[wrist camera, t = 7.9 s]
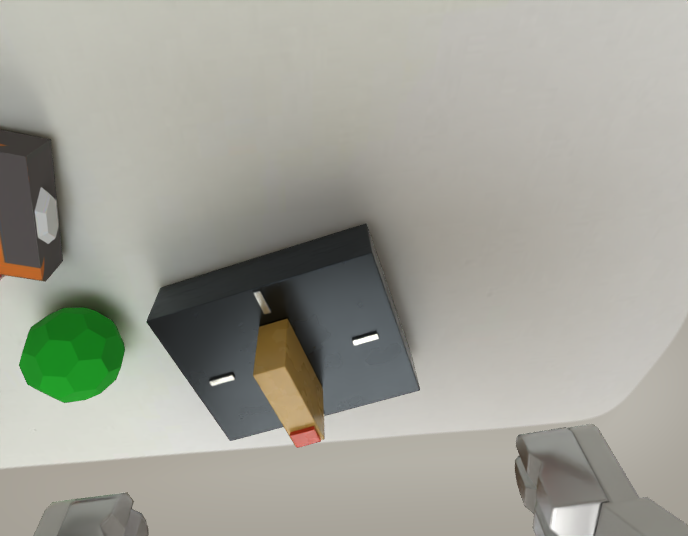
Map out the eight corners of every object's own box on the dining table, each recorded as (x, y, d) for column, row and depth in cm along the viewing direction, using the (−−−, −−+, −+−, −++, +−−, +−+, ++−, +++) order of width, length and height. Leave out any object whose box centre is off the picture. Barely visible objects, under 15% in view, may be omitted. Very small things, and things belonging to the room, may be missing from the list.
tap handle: (258, 326, 27) (251, 379, 23) (287, 317, 26) (284, 369, 23) (296, 396, 30) (295, 451, 26) (323, 388, 29) (324, 443, 26)
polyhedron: (28, 297, 28) (-18, 357, 24) (114, 284, 28) (83, 342, 24) (67, 363, 31) (32, 426, 27) (146, 351, 31) (123, 413, 27)
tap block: (366, 222, 27) (372, 254, 24) (411, 355, 32) (420, 392, 30) (159, 287, 29) (144, 324, 26) (235, 403, 34) (229, 443, 31)
